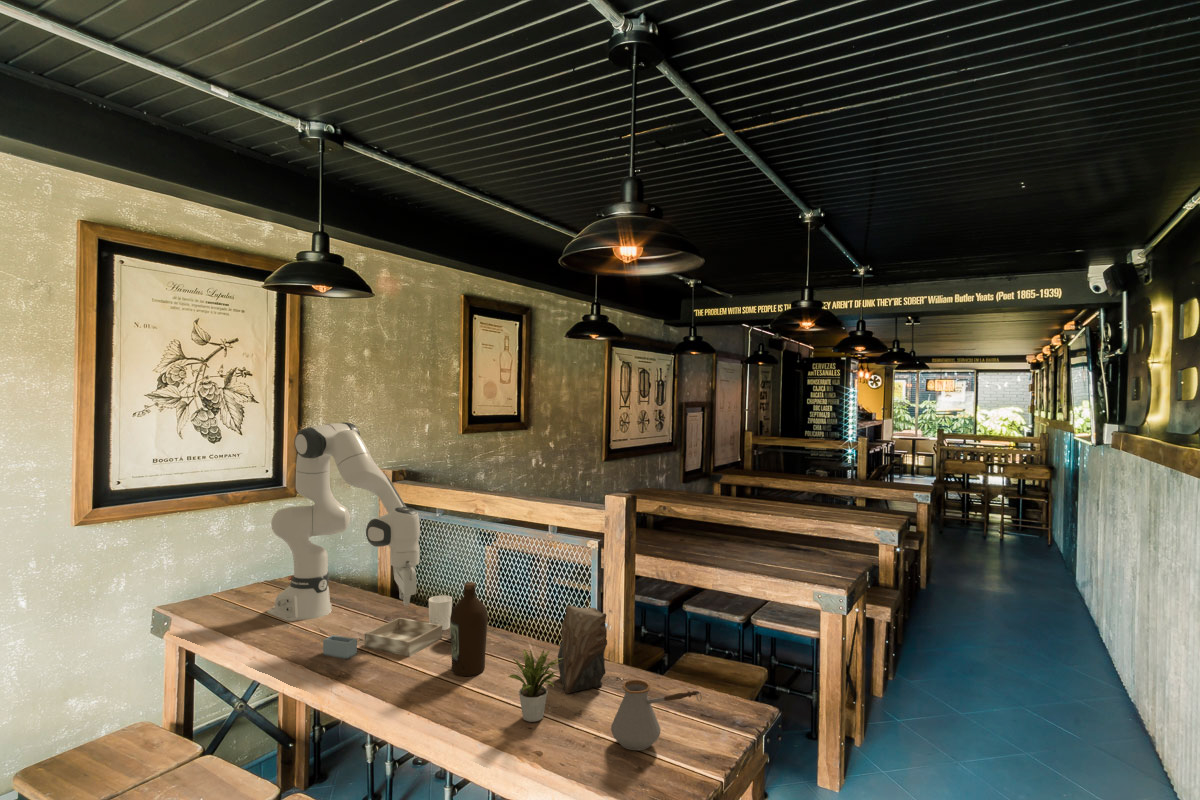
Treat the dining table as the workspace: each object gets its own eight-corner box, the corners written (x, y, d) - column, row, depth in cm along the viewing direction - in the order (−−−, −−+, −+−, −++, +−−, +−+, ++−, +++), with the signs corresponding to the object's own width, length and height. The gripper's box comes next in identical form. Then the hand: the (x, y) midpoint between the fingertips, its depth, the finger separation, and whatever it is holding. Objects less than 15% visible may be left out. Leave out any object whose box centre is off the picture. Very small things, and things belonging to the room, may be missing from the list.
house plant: (553, 737, 145) (554, 667, 145) (497, 731, 147) (498, 661, 147) (567, 707, 159) (568, 643, 159) (515, 702, 161) (516, 639, 161)
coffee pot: (601, 746, 141) (602, 680, 141) (624, 723, 151) (625, 662, 151) (690, 774, 131) (691, 703, 131) (708, 748, 141) (709, 681, 141)
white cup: (437, 633, 208) (438, 604, 208) (423, 628, 213) (423, 599, 213) (456, 627, 214) (457, 598, 214) (441, 622, 219) (442, 593, 219)
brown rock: (556, 673, 179) (557, 604, 179) (598, 669, 182) (599, 601, 182) (564, 693, 166) (565, 619, 167) (610, 689, 170) (611, 615, 170)
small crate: (323, 656, 188) (323, 639, 188) (332, 651, 192) (332, 635, 192) (347, 660, 186) (348, 643, 186) (356, 655, 190) (357, 638, 190)
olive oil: (481, 659, 188) (483, 576, 188) (491, 673, 178) (492, 586, 178) (446, 665, 183) (447, 580, 183) (453, 680, 174) (455, 590, 174)
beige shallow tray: (364, 647, 195) (364, 633, 195) (398, 630, 210) (399, 617, 210) (409, 657, 189) (409, 642, 189) (442, 639, 203) (442, 625, 204)
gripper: (421, 564, 192) (421, 610, 191) (409, 551, 210) (409, 592, 210) (400, 567, 189) (399, 612, 189) (390, 552, 207) (389, 594, 207)
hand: (404, 601), depth 199 cm, fingers open, 5 cm apart
